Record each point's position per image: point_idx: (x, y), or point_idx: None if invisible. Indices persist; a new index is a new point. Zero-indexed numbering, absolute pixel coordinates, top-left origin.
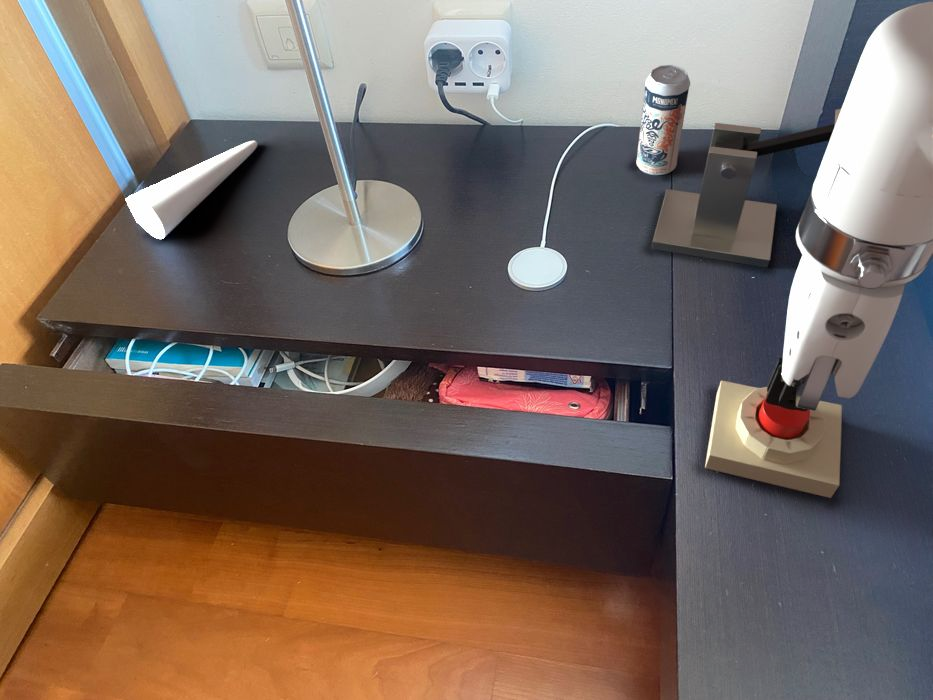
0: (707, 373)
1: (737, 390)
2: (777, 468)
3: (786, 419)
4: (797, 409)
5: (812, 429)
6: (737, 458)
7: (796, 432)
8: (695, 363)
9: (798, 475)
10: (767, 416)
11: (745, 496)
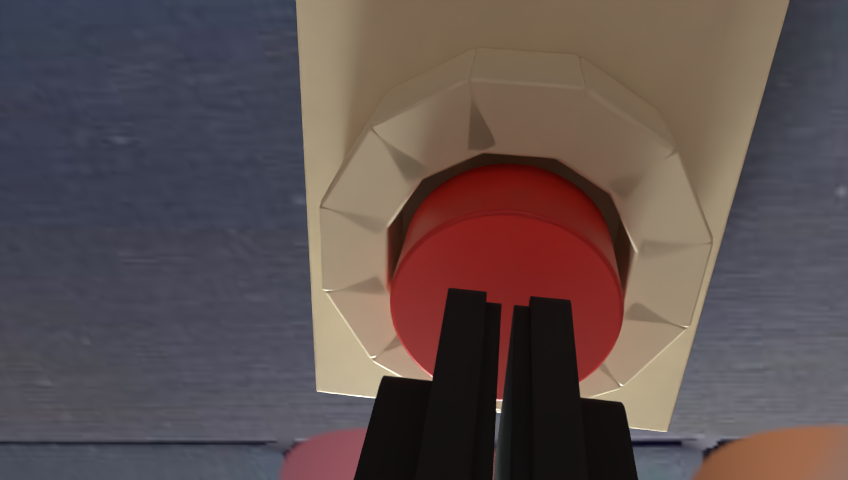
0: (258, 357)
1: (348, 346)
2: (715, 222)
3: (573, 316)
4: (620, 402)
5: (555, 142)
6: (674, 353)
7: (605, 233)
8: (231, 387)
9: (747, 139)
10: None
11: (762, 253)
